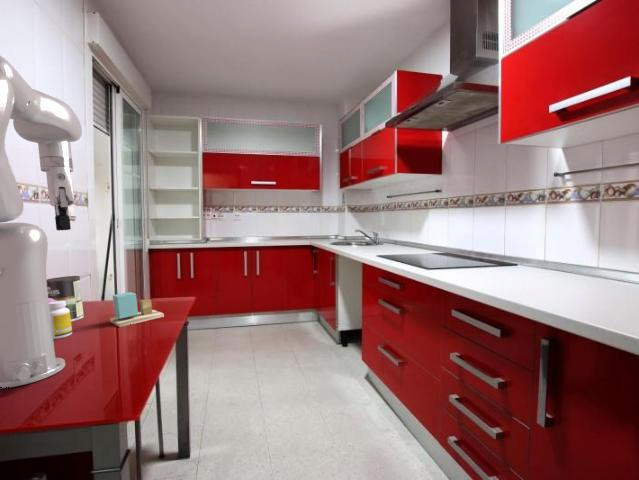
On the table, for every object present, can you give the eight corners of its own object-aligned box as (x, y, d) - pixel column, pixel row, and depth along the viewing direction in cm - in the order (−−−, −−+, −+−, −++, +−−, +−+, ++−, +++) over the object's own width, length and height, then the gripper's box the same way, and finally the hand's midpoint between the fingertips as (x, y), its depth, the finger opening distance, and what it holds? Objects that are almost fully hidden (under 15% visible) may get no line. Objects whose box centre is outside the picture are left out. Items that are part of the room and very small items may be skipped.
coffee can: (62, 324, 114) (57, 281, 113) (39, 324, 117) (34, 281, 116) (91, 315, 124) (87, 275, 123) (69, 315, 127) (64, 275, 126)
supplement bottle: (77, 332, 104) (73, 299, 103) (61, 339, 98) (57, 304, 98) (59, 333, 104) (56, 300, 104) (43, 339, 99) (39, 305, 98)
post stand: (163, 316, 116) (161, 292, 115) (119, 327, 107) (116, 300, 106) (152, 312, 123) (150, 289, 122) (110, 321, 114) (107, 296, 113)
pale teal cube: (138, 314, 112) (136, 293, 112) (119, 318, 109) (117, 297, 108) (132, 312, 116) (130, 292, 116) (114, 316, 113) (112, 295, 112)
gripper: (77, 161, 99) (83, 228, 100) (68, 170, 110) (74, 230, 111) (43, 160, 94) (50, 229, 95) (37, 169, 105) (44, 232, 106)
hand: (63, 229), depth 103 cm, fingers closed
